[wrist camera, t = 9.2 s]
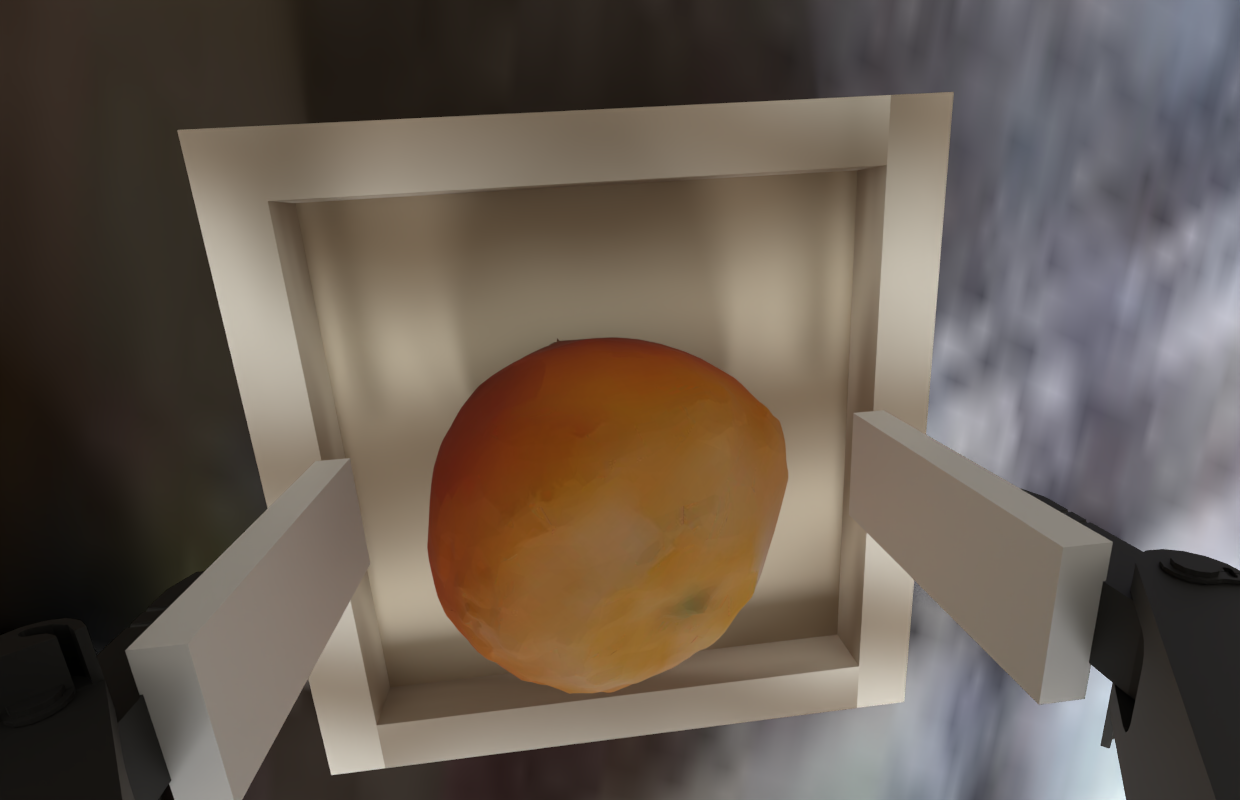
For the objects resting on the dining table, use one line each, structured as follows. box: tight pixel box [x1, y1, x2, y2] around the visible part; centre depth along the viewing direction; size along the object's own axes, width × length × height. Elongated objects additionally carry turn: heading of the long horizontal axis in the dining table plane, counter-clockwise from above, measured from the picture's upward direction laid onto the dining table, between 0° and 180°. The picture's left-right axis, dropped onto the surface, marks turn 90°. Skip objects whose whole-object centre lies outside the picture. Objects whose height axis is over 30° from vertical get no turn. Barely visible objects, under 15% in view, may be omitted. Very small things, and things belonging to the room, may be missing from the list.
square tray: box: [177, 92, 954, 775], centre depth 20 cm, size 17×17×8 cm
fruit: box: [427, 337, 788, 694], centre depth 15 cm, size 8×8×8 cm
